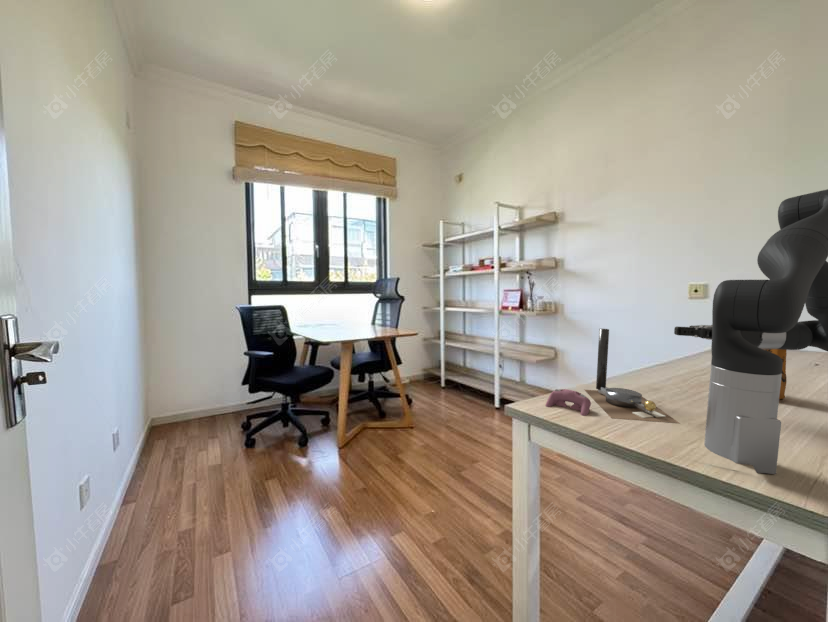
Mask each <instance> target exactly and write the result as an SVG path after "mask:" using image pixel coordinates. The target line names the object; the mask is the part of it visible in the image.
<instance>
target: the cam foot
mask: <svg viewBox="0 0 828 622" xmlns="http://www.w3.org/2000/svg"><path fill="white" fill-rule="evenodd" d="M598 330H599V331H598V348H597V362H596V363H597V368H596V385H595V390H598V392H599V393H601V394H603V395H605V400H606V401H607V402H609V403H611V404H614V405H617V406H622V407H630V408H636V407H638V408H640V409H642V410H644V411H647V412H649V413H653V411H654V410H655V409H656V407H657V404H656V403H655V402H654V401H652V400H648V401H646V402H645V403H644V405H643V404H642V397H643V394H642V393H641V392H638V391H636V390H633V389H629V388H623V387H607V376H608V374H607V372H608V359H609V357H608V356H609V342H610V341H609V339H610V329H609V328H599V329H598Z"/></svg>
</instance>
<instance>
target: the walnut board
mask: <svg viewBox="0 0 828 622" xmlns="http://www.w3.org/2000/svg"><path fill="white" fill-rule="evenodd" d="M583 390H584V392H586V394H587V395H588V396H589V397H590V398H591V399H592V400H593V401H594V402H595V403H596V404H597V405H598V406H599V408H601V410H603V411H604V412H605V413H606V414H607V415H608V416H609V417H610V418H611V419H614V420H615V419H617V420H630V421H642V422H645V421H646V422H654V423H656V422H657V423H665V424H666V423H667V424H669V423H670V424H681V423H680V422H678V421H677V420H676V419H675V418H673V417H672V416H670V415H669V414H667V413H666V412H665V411H663V410H662V409H660V408H659V407H658V406H656V409H655V410H654V411H653V413H649V412H647V411H644V410H642V409H640V408H638V407H636V408H630V407H622V406H617V405H614V404H611V403H609V402H607V401H606V400H605V395H603V394H601V393H599V392H598V389H583ZM646 401H649V400H648V399H646V398H645V397H644V396H642V404H643V405H644V403H645V402H646Z"/></svg>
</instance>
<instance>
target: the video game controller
mask: <svg viewBox="0 0 828 622" xmlns="http://www.w3.org/2000/svg"><path fill="white" fill-rule="evenodd" d="M566 402H567V403H572V405H570V407H569V409H573V410H576V411H580V412H579V413H580V416H583V417H584V416H587V415H589V412H590V407H591V406H592V405H591V404H592V403H591V400H590V399H589V397H587V396H586V395H585V394H583V393H581V392H579V391H576V390H572V389H568V388H567V389H566V388H565V389H558V388H556V389H554V390H553V391H552V392H551V393H550V394H549V396H548V398H547V401H546V402H545V407H546V408H549V407H550V408H551V407H552V406H555V405H556V406H559V407H563V408H567V407H568V405H567V403H566Z"/></svg>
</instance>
